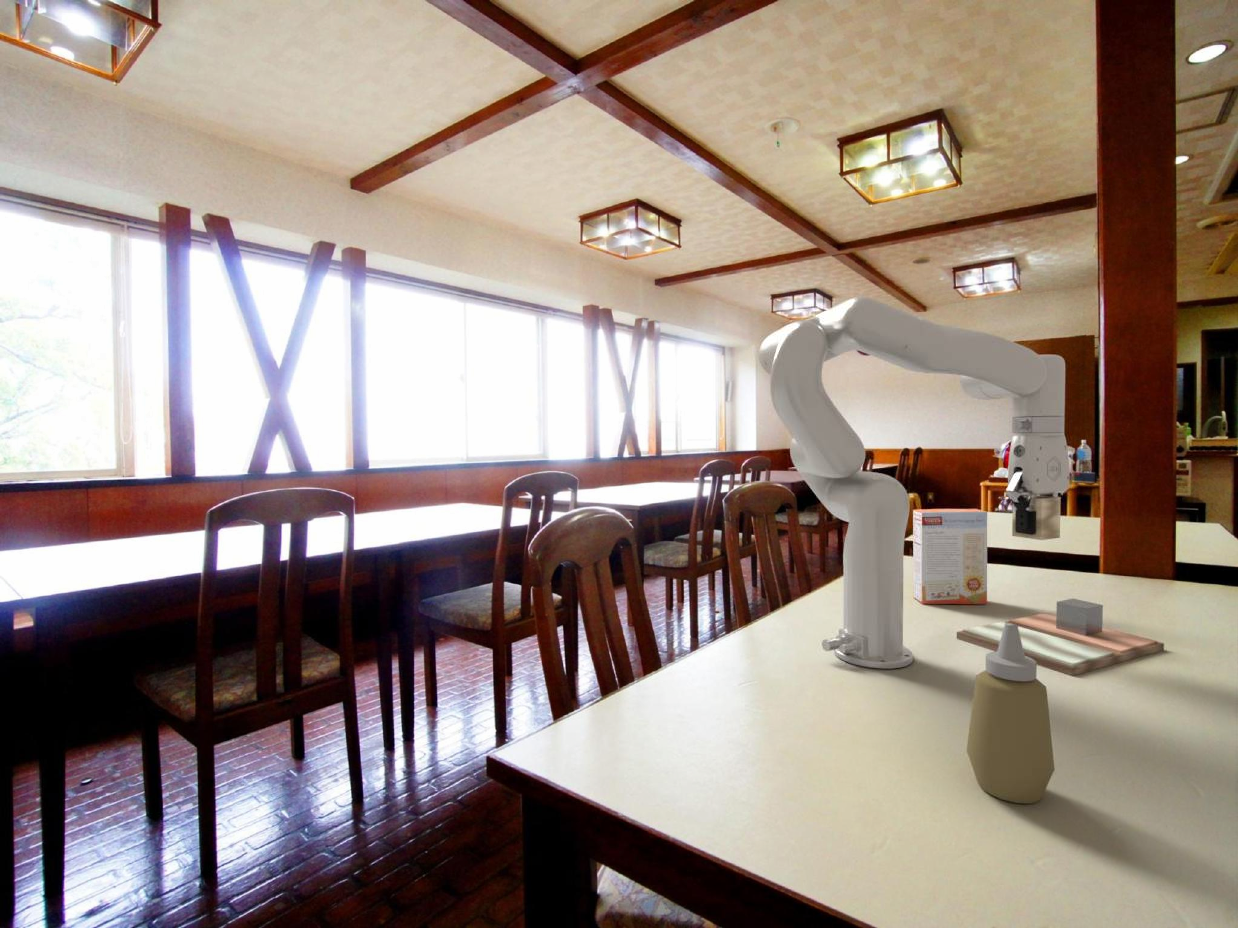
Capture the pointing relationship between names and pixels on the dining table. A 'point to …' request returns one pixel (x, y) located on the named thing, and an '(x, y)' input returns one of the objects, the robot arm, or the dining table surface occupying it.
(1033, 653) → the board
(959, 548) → the cracker box
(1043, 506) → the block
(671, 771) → the dining table surface
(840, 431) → the robot arm
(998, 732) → the squeeze bottle
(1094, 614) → the metal block
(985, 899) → the dining table surface
